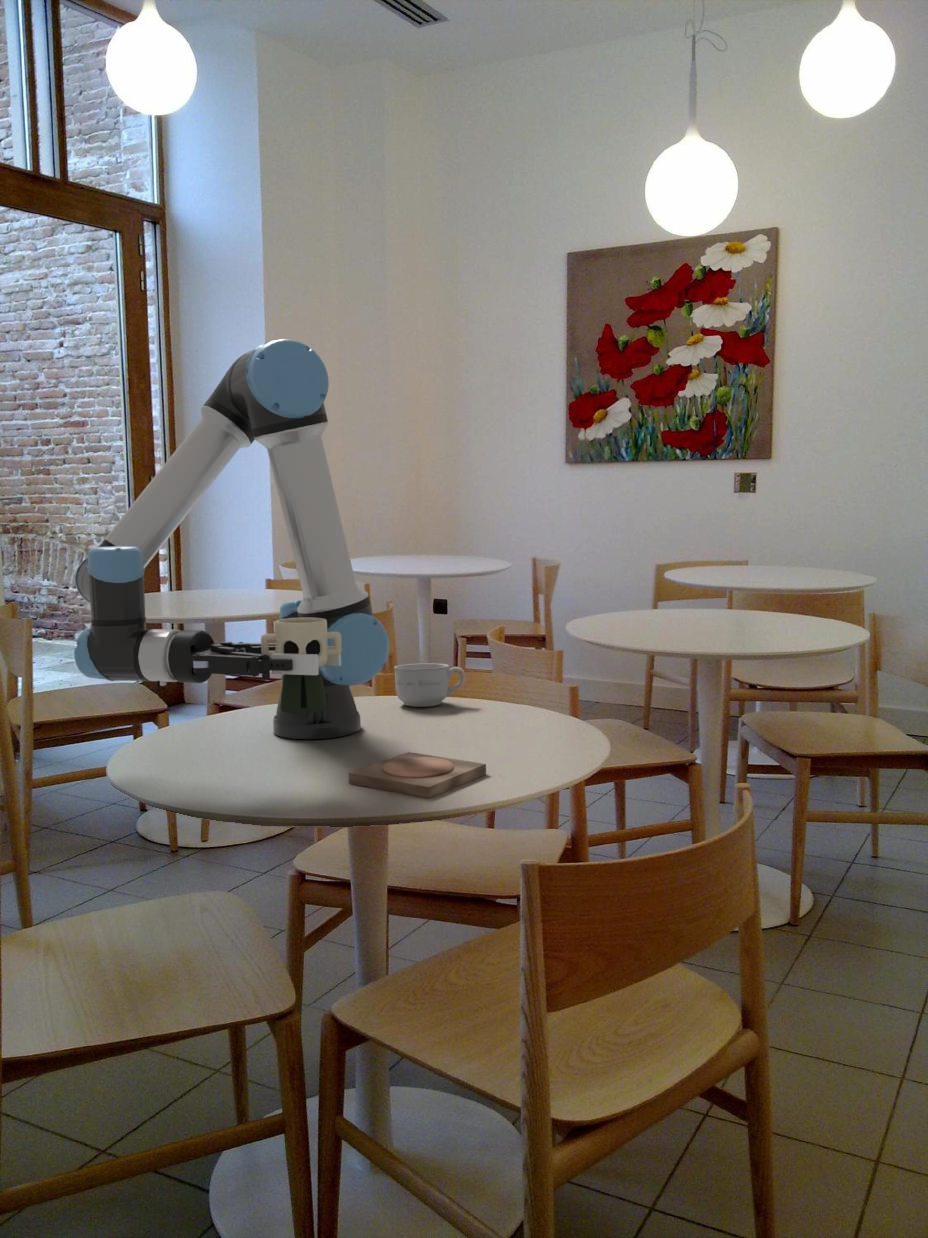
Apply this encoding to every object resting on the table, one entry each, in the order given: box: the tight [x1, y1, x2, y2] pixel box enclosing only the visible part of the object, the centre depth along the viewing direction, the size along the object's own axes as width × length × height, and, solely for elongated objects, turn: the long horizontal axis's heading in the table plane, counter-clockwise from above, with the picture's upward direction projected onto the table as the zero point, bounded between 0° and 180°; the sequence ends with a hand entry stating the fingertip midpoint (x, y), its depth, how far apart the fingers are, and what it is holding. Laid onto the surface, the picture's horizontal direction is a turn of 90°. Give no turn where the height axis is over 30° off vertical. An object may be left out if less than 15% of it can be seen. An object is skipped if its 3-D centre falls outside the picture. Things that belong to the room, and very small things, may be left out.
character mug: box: [260, 618, 342, 714], centre depth 138 cm, size 11×7×13 cm, turn 100°
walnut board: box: [348, 751, 487, 799], centre depth 143 cm, size 14×14×2 cm
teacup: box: [394, 662, 467, 708], centre depth 196 cm, size 14×11×8 cm
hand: (328, 660), depth 137 cm, fingers closed on character mug, 7 cm apart
